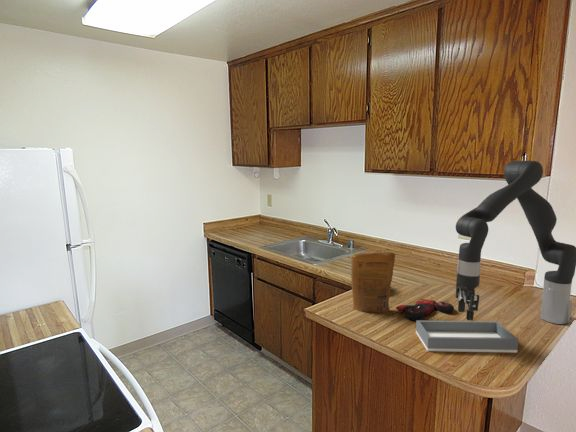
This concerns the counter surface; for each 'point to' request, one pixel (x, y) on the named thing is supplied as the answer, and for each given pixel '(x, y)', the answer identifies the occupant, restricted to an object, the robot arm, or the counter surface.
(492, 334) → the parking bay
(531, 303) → the counter surface
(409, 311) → the toy motorcycle
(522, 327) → the counter surface
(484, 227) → the robot arm
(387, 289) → the pancake mix bag
